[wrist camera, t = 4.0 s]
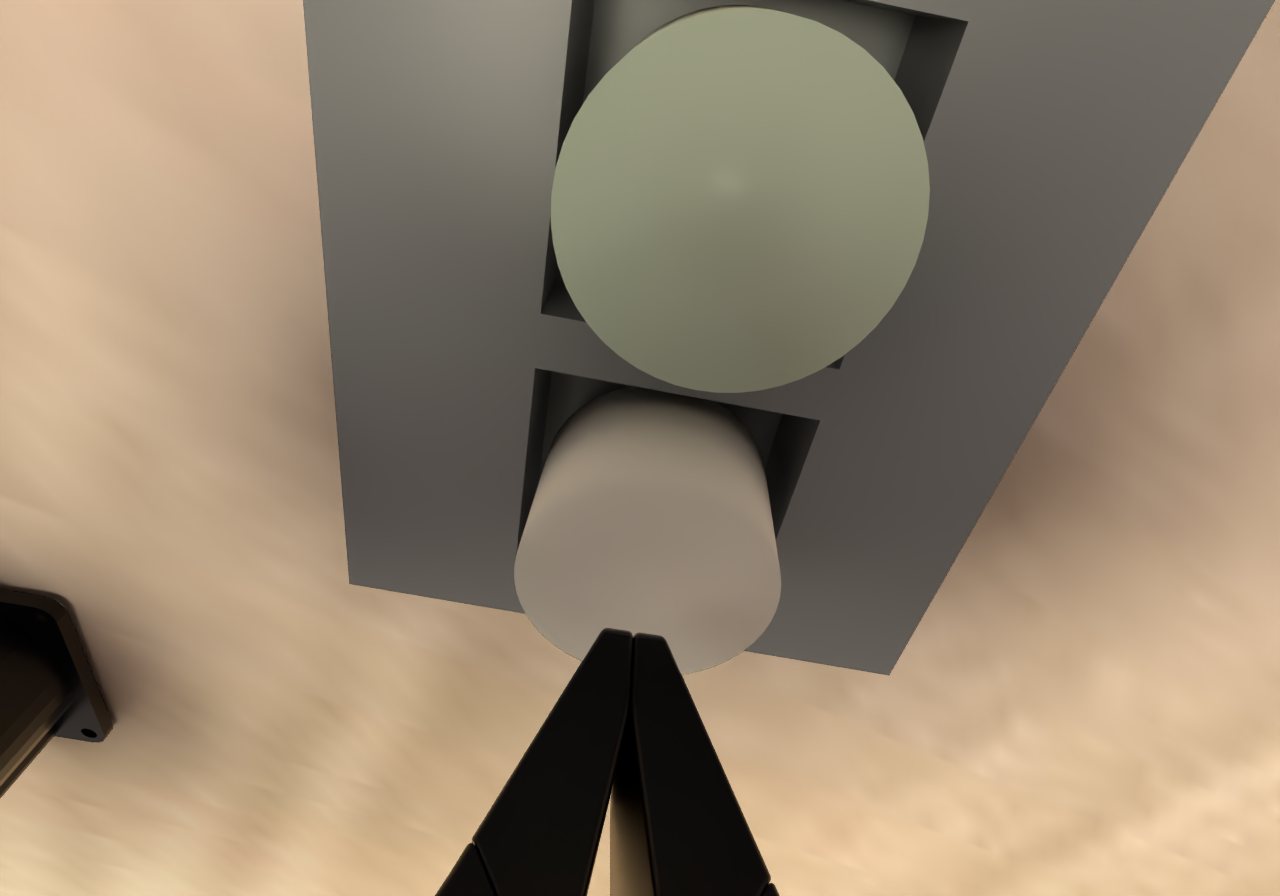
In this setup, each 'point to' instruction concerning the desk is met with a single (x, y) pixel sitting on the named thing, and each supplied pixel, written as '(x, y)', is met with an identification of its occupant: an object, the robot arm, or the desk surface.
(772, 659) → the desk surface
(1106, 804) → the desk surface
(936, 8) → the grey compartment tray
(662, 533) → the button ivory
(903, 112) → the button sage
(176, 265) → the desk surface
